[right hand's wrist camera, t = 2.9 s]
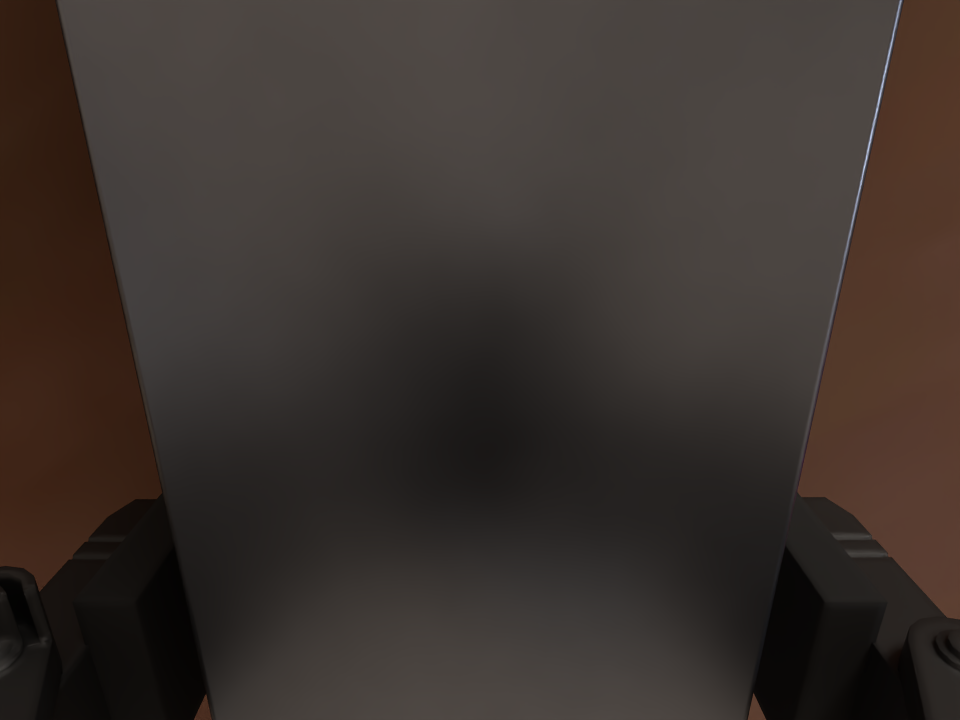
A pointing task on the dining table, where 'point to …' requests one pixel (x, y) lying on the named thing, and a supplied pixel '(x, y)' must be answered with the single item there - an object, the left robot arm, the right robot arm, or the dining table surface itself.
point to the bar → (479, 332)
